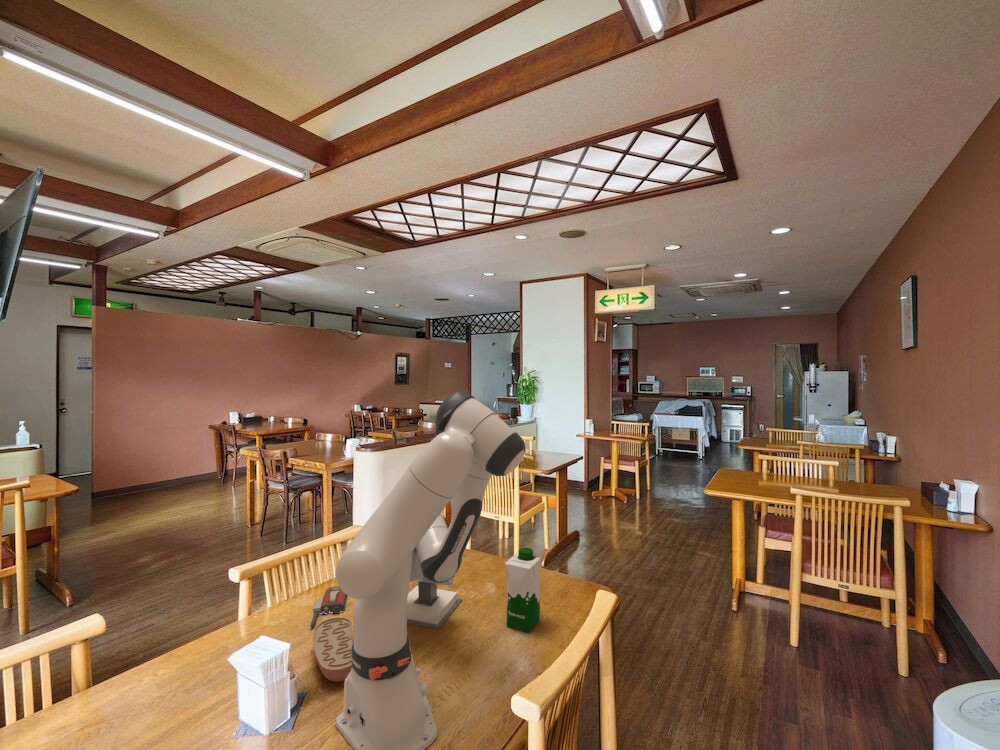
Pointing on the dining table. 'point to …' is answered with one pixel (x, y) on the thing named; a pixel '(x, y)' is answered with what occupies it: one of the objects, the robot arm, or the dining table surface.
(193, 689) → the dining table surface
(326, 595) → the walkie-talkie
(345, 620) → the anatomical model
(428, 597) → the plug
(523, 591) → the milk carton
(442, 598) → the socket
